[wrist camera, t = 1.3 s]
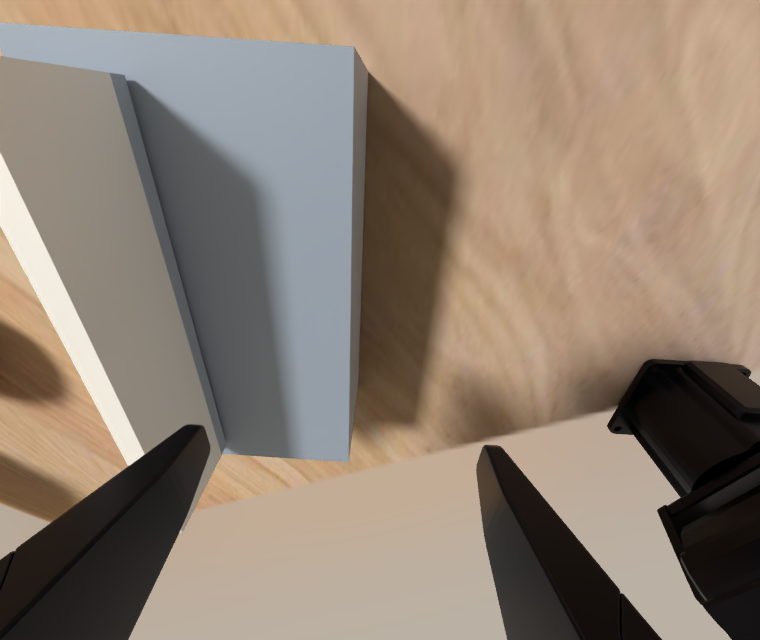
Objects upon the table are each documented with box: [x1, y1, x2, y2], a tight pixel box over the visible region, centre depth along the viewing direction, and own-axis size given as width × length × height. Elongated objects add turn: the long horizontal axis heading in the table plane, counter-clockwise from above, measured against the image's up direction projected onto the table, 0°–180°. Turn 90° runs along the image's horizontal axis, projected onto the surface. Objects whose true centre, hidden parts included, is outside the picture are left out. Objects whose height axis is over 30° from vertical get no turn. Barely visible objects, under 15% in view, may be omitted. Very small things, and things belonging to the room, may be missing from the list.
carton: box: [0, 23, 368, 462], centre depth 16 cm, size 18×10×6 cm, turn 177°
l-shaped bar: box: [0, 56, 226, 533], centre depth 12 cm, size 16×3×4 cm, turn 177°
